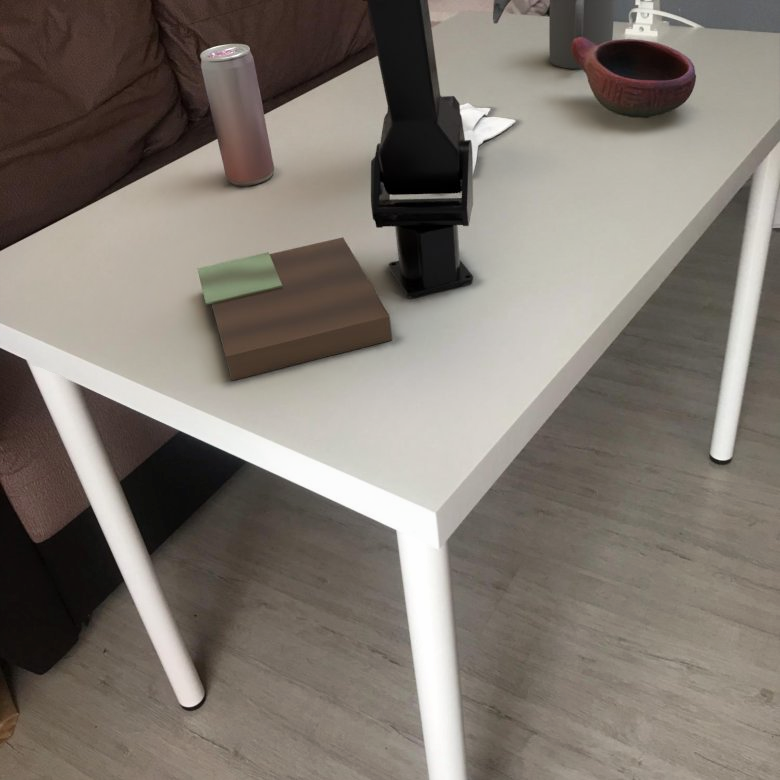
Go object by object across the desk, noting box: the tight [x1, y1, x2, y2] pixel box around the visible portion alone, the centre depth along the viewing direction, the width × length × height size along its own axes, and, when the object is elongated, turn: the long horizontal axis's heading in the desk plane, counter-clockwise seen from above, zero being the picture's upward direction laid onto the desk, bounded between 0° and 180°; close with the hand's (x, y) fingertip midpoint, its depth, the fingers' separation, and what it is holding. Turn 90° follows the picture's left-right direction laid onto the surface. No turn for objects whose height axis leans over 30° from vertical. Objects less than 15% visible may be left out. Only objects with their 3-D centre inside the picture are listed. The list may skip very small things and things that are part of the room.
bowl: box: [571, 37, 697, 119], centre depth 108 cm, size 16×13×8 cm
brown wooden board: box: [196, 236, 393, 381], centre depth 78 cm, size 16×14×3 cm
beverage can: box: [199, 43, 275, 187], centre depth 102 cm, size 6×6×15 cm
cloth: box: [460, 102, 516, 174], centre depth 107 cm, size 26×14×2 cm, turn 155°
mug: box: [548, 0, 616, 70], centre depth 124 cm, size 14×9×12 cm
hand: (454, 22), depth 98 cm, fingers open, 9 cm apart
